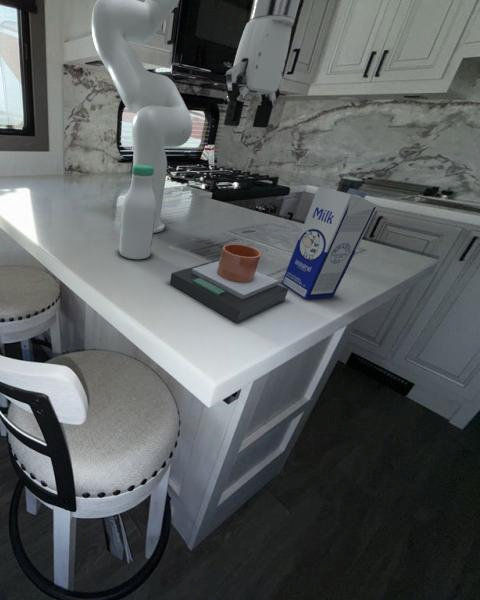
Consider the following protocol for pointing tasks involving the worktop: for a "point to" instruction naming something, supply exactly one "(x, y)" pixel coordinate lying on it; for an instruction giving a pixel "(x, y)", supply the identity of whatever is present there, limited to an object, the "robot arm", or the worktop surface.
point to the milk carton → (328, 242)
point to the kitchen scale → (229, 291)
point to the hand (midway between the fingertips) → (245, 126)
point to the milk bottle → (138, 215)
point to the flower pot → (238, 263)
